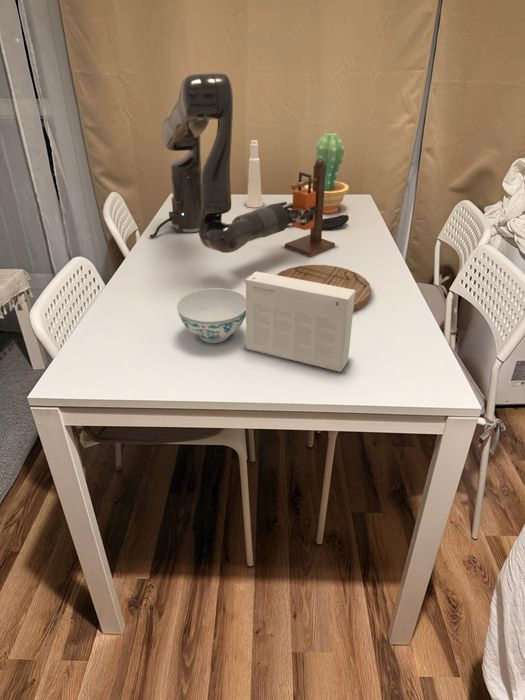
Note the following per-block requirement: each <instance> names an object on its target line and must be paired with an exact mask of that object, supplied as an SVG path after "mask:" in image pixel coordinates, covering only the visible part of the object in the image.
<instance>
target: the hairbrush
mask: <svg viewBox="0 0 525 700" xmlns="http://www.w3.org/2000/svg"><path fill="white" fill-rule="evenodd" d="M349 219H350V217H349V213H346V214H340V215H336V214H335V213H334V214H333V216H331V217H329V216H328V214H326V216H324V218H323V222H322V231H331V230H335V229H338V228H340V227H342V226H344V225H346V224H347V222H348V221H349Z"/></svg>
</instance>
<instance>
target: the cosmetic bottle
mask: <svg viewBox="0 0 525 700" xmlns="http://www.w3.org/2000/svg"><path fill="white" fill-rule="evenodd" d="M247 178H248V179H247V181H248V182H247V196H246V207H248V208H252V209H253V208H255V209H258V208H262V207H264V202H263V195H262V179H261V159H260V158H259V143H258V140H257V139H251V140H250V144H249V159H248V177H247Z"/></svg>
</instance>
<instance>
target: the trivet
mask: <svg viewBox="0 0 525 700" xmlns="http://www.w3.org/2000/svg"><path fill="white" fill-rule="evenodd" d="M276 275H278V276H284V277H289V278H294V279H300V280H305V281H311V282H316V283H321V284H327V285H332V286H337V287H342V288H347V289H353V290H355V298H354V308H353V313H354V312H356V311H358V310H360V309H362V308H364V307H365V306H366V305H367V304H368V302H369V300H370V297H371V289H372V288H371V284H370V282H369V281H368V280H367V279H366V278H365V277H364V276H363V275H360V274H359V273H358V272H355V271H352V270H351V269H348V268H344V267H340V266H335V265H328V264H327V265H326V264H304V265H298V266H293V267H289V268H286V269H283V270H281V271H279V272H278V273H276Z"/></svg>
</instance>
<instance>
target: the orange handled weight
mask: <svg viewBox="0 0 525 700" xmlns="http://www.w3.org/2000/svg"><path fill="white" fill-rule="evenodd" d="M303 177H305V178H308V179H307V180H308V190H307V189H305V187H304V188H303V187H298V188H297V189H295V190H292V203H293V207H292V209H294V208H302V209H307V208H310V207H313V206H315V201H316V192H314V191H311V179H313V175H312V174H310V173H305V172H303V171H302V172H301V171H299V173H298V183H299V182H303V180H302V179H303ZM305 213H306V212H304V213H303V214H305ZM298 217H299V211H298ZM314 219H315V215H314V216H313V221H311V222H309V223H308V224H306V225H304V226H302V225H300V222H295V223H292V224H291V226H292V227H294V228H296V229H300V230H303V231H307V230H311V228H312V227H314Z"/></svg>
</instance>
